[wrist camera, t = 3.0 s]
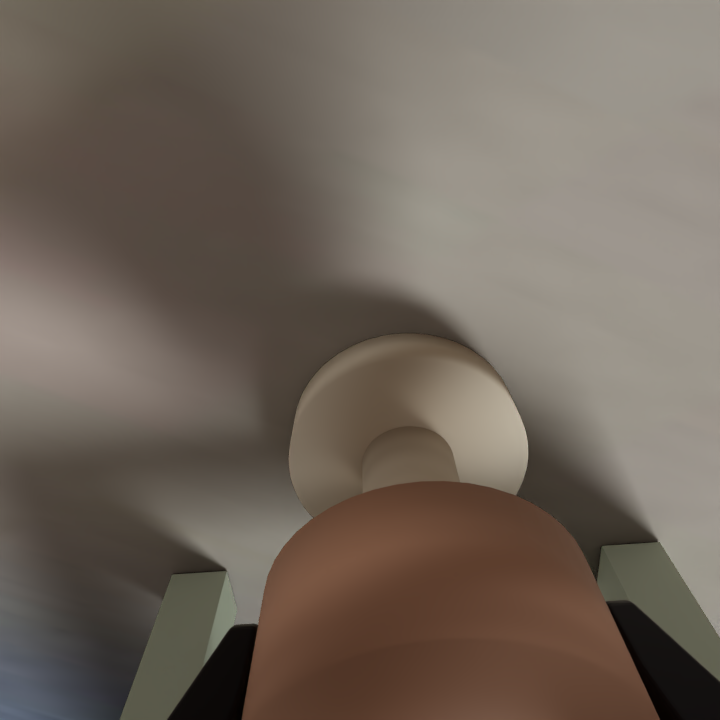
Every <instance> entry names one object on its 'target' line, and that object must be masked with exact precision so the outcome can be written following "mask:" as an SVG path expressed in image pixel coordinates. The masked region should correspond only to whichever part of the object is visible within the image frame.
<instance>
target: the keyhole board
mask: <svg viewBox="0 0 720 720" xmlns="http://www.w3.org/2000/svg"><path fill="white" fill-rule="evenodd" d="M597 584H598V586H599V588H600V591H601V593H602V595H603V597H604V599H605V601H615V600H629V601H631V602H633V603H634V604H635V605H637V606H638V607H639V608H640V609H641V610H642V611H643V612H644V613H645V614H646V615H648V616H649V617H650V618H651V619H652V620H653V621H654V622H655V623H656V624H657V625H659V626H660V627H661V628H662V629H663V630H664V631H665V632H666V633H667V634H668V635H670V636H671V637H672V638H673V639H674V640H675V641H676V642H677V643H678V644H679V645H681V646H682V647H683V648H684V649H685V650H686V651H687V652H688V653H689V654H690V655H692V656H693V657H694V658H695V659H696V660H697V661H698V662H699V663H700V664H701V665H703V666H704V667H705V668H706V669H707V670H708V671H709V672H710V673H711V674H712V675H714V676H715V677H716V678H717V679H718V680H719V681H720V638H719V636H718V634H717V633H716V631H715V630H714V628H713V626H712V625H711V623H710V622H709V620H708V618H707V617H706V615H705V614H704V612H703V610H702V609H701V607H700V606H699V604H698V603H697V601H696V599H695V598H694V596H693V595H692V593H691V591H690V590H689V588H688V587H687V585H686V583H685V582H684V580H683V579H682V577H681V575H680V574H679V572H678V571H677V569H676V568H675V566H674V564H673V563H672V561H671V560H670V558H669V556H668V555H667V553H666V552H665V550H664V548H663V547H662V545H661V544H660V542H654V543H639V544H624V545H609V546H602V548H601V556H600V563H599V570H598V578H597ZM236 612H237V607H236V604H235V600H234V596H233V592H232V588H231V585H230V581H229V577H228V573H227V571H219V572H204V573H189V574H174V575H172V576H171V579H170V582H169V585H168V587H167V590H166V593H165V596H164V599H163V601H162V604H161V607H160V610H159V612H158V615H157V618H156V621H155V623H154V626H153V629H152V632H151V635H150V637H149V640H148V643H147V646H146V648H145V651H144V654H143V657H142V659H141V662H140V665H139V668H138V671H137V673H136V676H135V679H134V682H133V684H132V687H131V690H130V693H129V695H128V698H127V701H126V704H125V706H124V709H123V712H122V715H121V718H120V720H167V718H168V717H169V716H170V714H171V713H172V711H173V710H174V708H175V707H176V705H177V704H178V703H179V701H180V700H181V698H182V697H183V695H184V694H185V692H186V691H187V690H188V688H189V687H190V685H191V684H192V682H193V681H194V679H195V678H196V676H197V675H198V674H199V672H200V671H201V669H202V668H203V666H204V665H205V663H206V662H207V661H208V659H209V658H210V656H211V655H212V653H213V652H214V650H215V649H216V648H217V646H218V645H219V643H220V642H221V640H222V639H223V637H224V636H225V635H226V633H227V632H228V630H229V629H230V628H231V627H232V626H234V621H235V617H236Z"/></svg>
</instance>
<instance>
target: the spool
mask: <svg viewBox="0 0 720 720" xmlns="http://www.w3.org/2000/svg"><path fill="white" fill-rule="evenodd" d="M527 463H528V440H527V435H526V430H525V428H524V425H523V422H522V419H521V417H520V415H519V413H518V410H517V408H516V406H515V404H514V402H513V400H512V397H511V395H510V393H509V391H508V389H507V387H506V385H505V384H504V382H503V380H502V378H501V377H500V376H499V374H498V373H497V372H496V371H495V369H494V368H493V367H492V366H491V365H490V364H489V363H488V362H487V361H486V360H485V359H483V358H482V357H481V356H479V355H478V354H477V353H475V352H474V351H472V350H471V349H469V348H467V347H465V346H463V345H461V344H459V343H456V342H454V341H451V340H448V339H445V338H442V337H437V336H433V335H427V334H417V333H398V334H391V335H384V336H379V337H376V338H372V339H368V340H365V341H363V342H360V343H358V344H355V345H353V346H351V347H349V348H347V349H345V350H344V351H342V352H340V353H339V354H337V355H336V356H334V357H333V358H332V359H330V360H329V361H328V362H327V363H326V364H325V365H323V366H322V367H321V368H320V369H319V370H318V371H317V372H316V374H315V375H314V376H313V377H312V379H311V380H310V381H309V383H308V384H307V386H306V388H305V390H304V391H303V393H302V395H301V398H300V400H299V403H298V405H297V410H296V414H295V419H294V424H293V430H292V436H291V441H290V447H289V471H290V476H291V480H292V484H293V487H294V489H295V492H296V494H297V496H298V498H299V500H300V501H301V503H302V505H303V506H304V508H305V509H306V510H307V511H308V513H309V514H310V515H311V516H312V517H313V519H311V520H310V521H309V522H308V523H307V524H305V525H304V526H303V527H302V528H301V529H299V530H298V531H297V532H296V533H295V534H294V535H293V536H292V538H291V539H290V540H289V541H288V542H287V543H286V544H285V545H284V547H283V548H282V550H281V551H280V553H279V554H278V556H277V557H276V559H275V560H274V563H273V565H272V567H271V570H270V572H269V574H268V577H267V581H266V585H265V590H264V595H263V600H262V606H261V612H260V617H259V623H258V629H257V634H256V640H255V646H254V651H253V657H252V663H251V668H250V674H249V680H248V686H247V691H246V697H245V703H244V708H243V714H242V720H660V719H659V716H658V714H657V712H656V710H655V708H654V706H653V703H652V701H651V699H650V697H649V695H648V693H647V690H646V688H645V686H644V684H643V682H642V680H641V677H640V675H639V673H638V671H637V669H636V667H635V664H634V662H633V660H632V658H631V656H630V653H629V651H628V649H627V647H626V645H625V643H624V640H623V638H622V636H621V634H620V632H619V630H618V627H617V625H616V623H615V621H614V619H613V617H612V614H611V612H610V610H609V608H608V606H607V604H606V601H605V599H604V597H603V595H602V593H601V591H600V588H599V586H598V584H597V582H596V580H595V578H594V575H593V573H592V571H591V569H590V567H589V565H588V562H587V560H586V558H585V556H584V554H583V552H582V550H581V549H580V547H579V545H578V544H577V542H576V540H575V539H574V538H573V537H572V535H571V534H570V533H569V532H568V531H567V530H566V528H565V527H564V526H563V525H562V524H560V523H559V522H558V521H557V520H556V519H555V518H553V517H552V516H551V515H550V514H548V513H547V512H545V511H544V510H542V509H541V508H539V507H537V506H536V505H534V504H533V503H531V502H528V501H526V500H524V499H522V498H520V497H518V496H516V494H517V493H518V491H519V489H520V486H521V484H522V482H523V479H524V476H525V473H526V469H527Z"/></svg>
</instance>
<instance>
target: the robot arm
mask: <svg viewBox="0 0 720 720" xmlns="http://www.w3.org/2000/svg"><path fill="white" fill-rule="evenodd" d="M606 604H607V606H608V608H609V610H610V612H611V614H612V617H613V619H614V621H615V623H616V625H617V627H618V630H619V632H620V634H621V636H622V638H623V640H624V643H625V645H626V647H627V649H628V651H629V653H630V656H631V658H632V660H633V662H634V664H635V667H636V669H637V671H638V673H639V675H640V677H641V680H642V682H643V684H644V686H645V688H646V690H647V693H648V695H649V697H650V699H651V701H652V703H653V706H654V708H655V710H656V712H657V714H658V716H659V719H660V720H720V681H719V680H718V679H717V678H716V677H715V676H714V675H712V674H711V673H710V672H709V671H708V670H707V669H706V668H705V667H704V666H703V665H701V664H700V663H699V662H698V661H697V660H696V659H695V658H694V657H693V656H692V655H690V654H689V653H688V652H687V651H686V650H685V649H684V648H683V647H682V646H681V645H679V644H678V643H677V642H676V641H675V640H674V639H673V638H672V637H671V636H670V635H668V634H667V633H666V632H665V631H664V630H663V629H662V628H661V627H660V626H659V625H657V624H656V623H655V622H654V621H653V620H652V619H651V618H650V617H649V616H648V615H646V614H645V613H644V612H643V611H642V610H641V609H640V608H639V607H638V606H637V605H635V604H634V603H633V602H631V601H629V600H615V601H606ZM257 629H258V625H257V624H240V625H234V626H232V627H231V628H230V629H229V630H228V632H227V633H226V635H225V636H224V637H223V639H222V640H221V642H220V643H219V645H218V646H217V648H216V649H215V650H214V652H213V653H212V655H211V656H210V658H209V659H208V661H207V662H206V663H205V665H204V666H203V668H202V669H201V671H200V672H199V674H198V675H197V676H196V678H195V679H194V681H193V682H192V684H191V685H190V687H189V688H188V690H187V691H186V692H185V694H184V695H183V697H182V698H181V700H180V701H179V703H178V704H177V705H176V707H175V708H174V710H173V711H172V713H171V714H170V716H169V717H168V718H167V720H242V714H243V708H244V703H245V697H246V691H247V686H248V680H249V674H250V668H251V663H252V657H253V651H254V646H255V640H256V634H257Z"/></svg>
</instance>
